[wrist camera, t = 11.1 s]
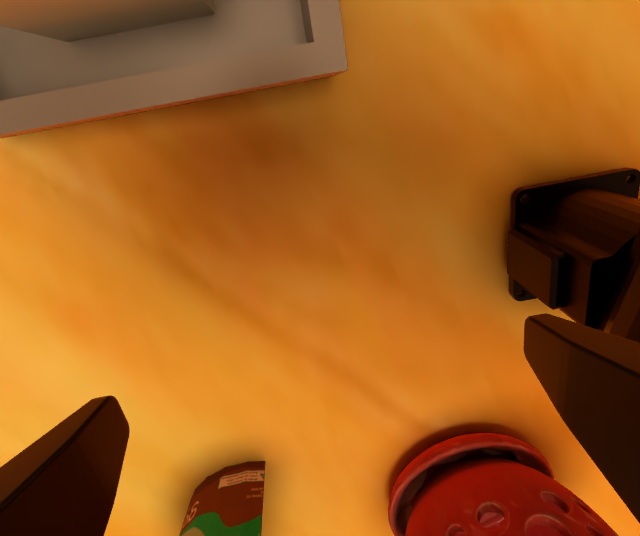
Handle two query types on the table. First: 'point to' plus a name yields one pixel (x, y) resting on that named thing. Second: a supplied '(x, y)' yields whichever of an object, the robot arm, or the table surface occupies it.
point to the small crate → (95, 15)
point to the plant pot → (487, 493)
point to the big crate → (166, 63)
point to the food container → (228, 503)
